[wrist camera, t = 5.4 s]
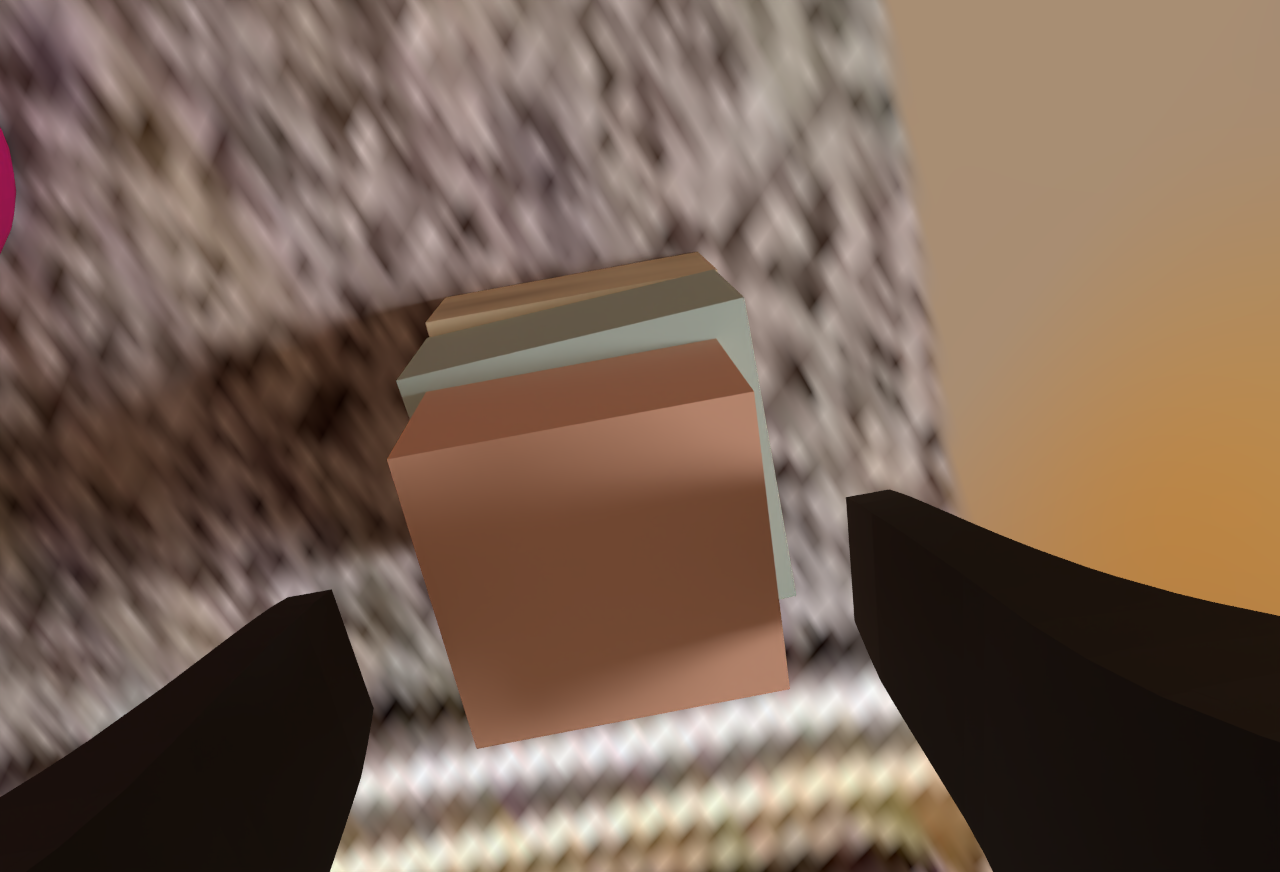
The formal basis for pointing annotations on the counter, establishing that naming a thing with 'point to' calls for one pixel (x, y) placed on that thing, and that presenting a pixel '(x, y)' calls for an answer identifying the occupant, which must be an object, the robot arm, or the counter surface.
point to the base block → (556, 292)
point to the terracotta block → (596, 540)
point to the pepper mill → (6, 191)
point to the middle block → (606, 353)
